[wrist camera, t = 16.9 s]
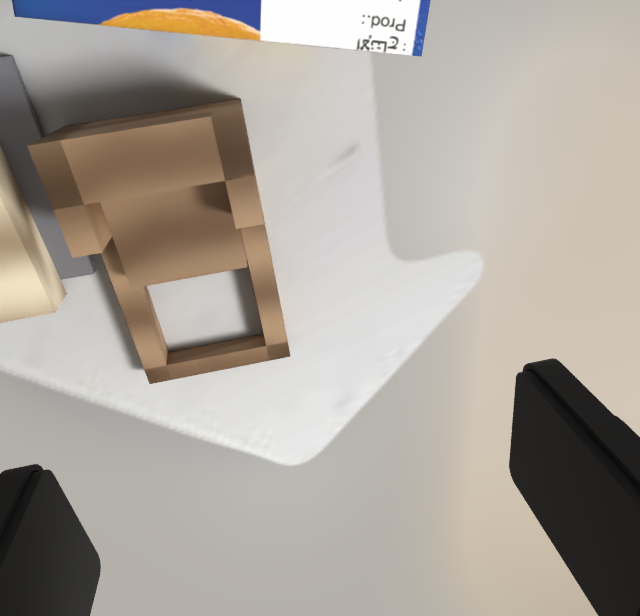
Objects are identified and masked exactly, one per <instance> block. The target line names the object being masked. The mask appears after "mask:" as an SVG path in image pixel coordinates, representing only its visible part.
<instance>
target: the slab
mask: <svg viewBox="0 0 640 616" xmlns="http://www.w3.org/2000/svg"><path fill="white" fill-rule="evenodd" d="M66 294H67V293H66V291H65V289H64V286H63V284H62V282H61V280H60V277H59V275H58V273H57V271H56V269H55V266H54V264H53V262H52V260H51V257H50V255H49V253H48V251H47V248H46V246H45V244H44V242H43V240H42V237H41V235H40V233H39V231H38V228H37V226H36V224H35V222H34V219H33V217H32V215H31V213H30V211H29V208H28V206H27V204H26V202H25V199H24V197H23V195H22V193H21V190H20V188H19V186H18V184H17V182H16V179H15V177H14V175H13V173H12V170H11V168H10V166H9V164H8V161H7V159H6V157H5V155H4V153H3V150H2V148H1V146H0V323H3V322H8V321H14V320H19V319H24V318H29V317H34V316H39V315H44V314H49V313H54V312H55V311H56V310H57V308H58V307H59V305H60V304H61V302H62V301H63V299H64V297H65V296H66Z"/></svg>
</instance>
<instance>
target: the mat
mask: <svg viewBox="0 0 640 616" xmlns="http://www.w3.org/2000/svg"><path fill="white" fill-rule="evenodd" d="M43 137H44V135H43V132H42V130H41V127H40V125H39V122H38V119H37V117H36V114H35V112H34V109H33V107H32V104H31V101H30V99H29V96H28V94H27V91H26V88H25V86H24V83H23V81H22V78H21V75H20V73H19V70H18V68H17V65H16V63H15V60H14V57H13V56H6V57H0V146H1V148H2V150H3V153H4V155H5V157H6V159H7V161H8V164H9V166H10V168H11V170H12V173H13V175H14V177H15V179H16V182H17V184H18V186H19V188H20V190H21V193H22V195H23V197H24V199H25V202H26V204H27V206H28V208H29V211H30V213H31V215H32V217H33V219H34V222H35V224H36V226H37V228H38V231H39V233H40V235H41V237H42V240H43V242H44V244H45V246H46V248H47V251H48V253H49V255H50V257H51V260H52V262H53V264H54V266H55V269H56V271H57V273H58V275H59V277H60V280H62V279H67V278H73V277H78V276H84V275H89V274H94V273H95V271H96V269H95V267H94V264H93V262H92V259H91V256H90V255H87V256H81V257H75V258H72V255H71V253H70V250H69V248H68V245H67V243H66V240H65V238H64V235H63V233H62V231H61V228H60V226H59V223H58V221H57V218H56V216H55V213H54V211H53V208H52V206H51V204H50V201H49V199H48V196H47V194H46V191H45V189H44V186H43V184H42V181H41V179H40V176H39V174H38V172H37V169H36V167H35V164H34V162H33V159H32V157H31V154H30V152H29V149H28V147H27V146H28V145H29V144H31V143H33V142H35V141H37V140H39V139H41V138H43Z"/></svg>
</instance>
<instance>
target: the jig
mask: <svg viewBox="0 0 640 616" xmlns="http://www.w3.org/2000/svg"><path fill="white" fill-rule="evenodd" d="M27 147H28V149H29V152H30V154H31V157H32V159H33V162H34V164H35V167H36V169H37V172H38V174H39V176H40V179H41V181H42V184H43V186H44V189H45V191H46V194H47V196H48V199H49V201H50V204H51V206H52V208H53V211H54V213H55V216H56V218H57V221H58V223H59V226H60V228H61V231H62V233H63V235H64V238H65V240H66V243H67V245H68V248H69V250H70V253H71V255H72V258H75V257H81V256H87V255H92V254H98V253H101V255H102V258H103V261H104V263H105V266H106V269H107V271H108V274H109V277H110V279H111V282H112V285H113V287H114V290H115V293H116V295H117V298H118V301H119V303H120V306H121V309H122V311H123V314H124V317H125V319H126V322H127V325H128V327H129V330H130V333H131V335H132V338H133V341H134V343H135V346H136V349H137V351H138V354H139V357H140V359H141V362H142V365H143V367H144V370H145V373H146V375H147V378H148V381H149V383H150V384H152V383H157V382H162V381H167V380H173V379H178V378H183V377H188V376H193V375H198V374H203V373H208V372H213V371H218V370H224V369H229V368H234V367H239V366H244V365H249V364H254V363H259V362H264V361H269V360H274V359H280V358H285V357H290V352H289V346H288V341H287V336H286V331H285V326H284V320H283V315H282V310H281V305H280V300H279V295H278V290H277V284H276V279H275V274H274V269H273V264H272V259H271V253H270V248H269V243H268V238H267V233H266V228H265V222H264V217H263V212H262V207H261V202H260V197H259V191H258V186H257V181H256V176H255V171H254V166H253V160H252V155H251V150H250V145H249V140H248V135H247V129H246V124H245V119H244V114H243V109H242V104H241V99H234V100H228V101H222V102H216V103H209V104H203V105H197V106H190V107H184V108H178V109H171V110H165V111H159V112H152V113H146V114H140V115H133V116H127V117H121V118H114V119H108V120H102V121H96V122H89V123H83V124H77V125H70V126H64V127H62V128H60V129H58V130H56V131H55V132H53V133H51V134H49V135H47V136H45V137H43V138H41V139H39V140H37V141H35V142H33V143H31V144H29V145H28V146H27ZM247 260H248V265H249V269H250V274H251V278H252V283H253V287H254V292H255V296H256V301H257V306H258V310H259V315H260V319H261V324H262V328H263V333H264V334H261V335H256V336H251V337H245V338H240V339H235V340H230V341H225V342H219V343H214V344H209V345H204V346H199V347H193V348H188V349H183V350H178V351H173V352H169V351H168V348H167V345H166V342H165V339H164V336H163V333H162V330H161V327H160V324H159V321H158V318H157V315H156V313H155V310H154V307H153V304H152V301H151V298H150V295H149V292H148V289H147V286H148V285H153V284H158V283H164V282H169V281H175V280H180V279H186V278H191V277H197V276H202V275H208V274H213V273H219V272H224V271H230V270H235V269H241V268H246V267H247Z"/></svg>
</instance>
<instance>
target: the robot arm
mask: <svg viewBox="0 0 640 616" xmlns="http://www.w3.org/2000/svg"><path fill="white" fill-rule="evenodd" d="M509 468H510V473H511V476H512V479H513V481H514V483H515V485H516V486H517V488H518V489H519V491H520V493H521V494H522V496H523V497H524V499H525V501H526V502H527V504H528V505H529V507H530V508H531V510H532V511H533V513H534V515H535V516H536V518H537V519H538V521H539V522H540V524H541V526H542V527H543V529H544V531H545V532H546V534H547V535H548V537H549V538H550V540H551V542H552V543H553V545H554V546H555V548H556V549H557V551H558V552H559V554H560V556H561V557H562V559H563V561H564V562H565V564H566V565H567V567H568V568H569V570H570V571H571V573H572V575H573V576H574V578H575V579H576V581H577V583H578V584H579V586H580V587H581V589H582V590H583V592H584V594H585V595H586V597H587V598H588V600H589V601H590V603H591V605H592V606H593V608H594V609H595V611H596V613H597V614H598V616H640V437H639V436H638V435H637V434H636V433H635V432H634V431H632V429H631V428H630V427H629V426H628V425H627V424H625V422H623V421H622V420H621V419H619V418H618V417H617V416H614V415H613V414H612V413H611V412H610V411H609V410H608V409H607V408H606V407H605V406H604V405H603V404H602V403H601V402H600V401H599V400H598V399H597V398H596V397H595V396H594V395H593V394H592V393H591V392H590V391H589V390H588V389H587V388H586V387H585V386H584V385H583V384H582V383H581V382H580V381H579V380H578V379H577V378H576V377H575V376H574V375H573V374H572V373H571V372H569V370H568V369H567V368H566V367H565V366H563V365H562V363H560V362H559V361H558V360H557V359H548V360H543V361H538V362H533V363H528V364H526V365H525V366H524V368H523V372H520V373H518V374H517V376H516V386H515V398H514V411H513V423H512V437H511V449H510V461H509ZM100 567H101V566H100V559H99V556H98V553H97V552H96V550H95V548H94V546H93V544H92V543H91V541H90V539H89V537H88V535H87V534H86V532H85V530H84V528H83V526H82V525H81V523H80V521H79V519H78V517H77V516H76V514H75V512H74V510H73V508H72V507H71V505H70V503H69V501H68V499H67V498H66V496H65V494H64V492H63V491H62V489H61V487H60V485H59V483H58V481H57V480H56V478H55V476H54V474H53V473H52V471H50V470H43V468H42V467H41V466H39V465H38V464H34V465H29V466H24V467H19V468H14V469H9V470H5V471H3V472H2V473H1V474H0V616H90V613H91V609H92V604H93V601H94V597H95V593H96V588H97V584H98V581H99V577H100Z"/></svg>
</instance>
